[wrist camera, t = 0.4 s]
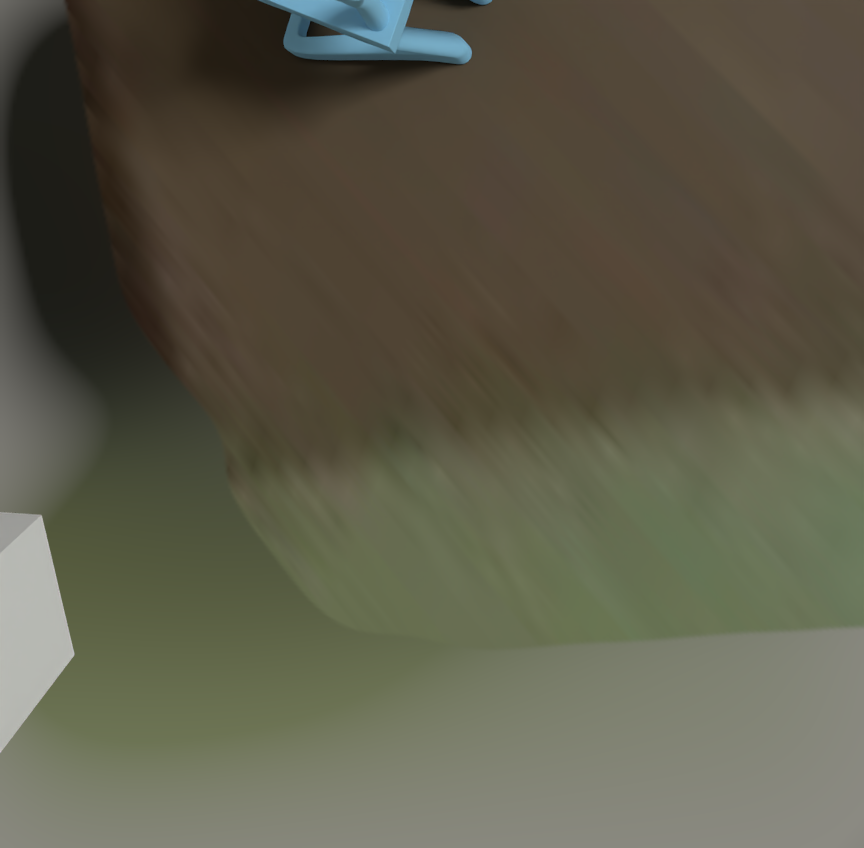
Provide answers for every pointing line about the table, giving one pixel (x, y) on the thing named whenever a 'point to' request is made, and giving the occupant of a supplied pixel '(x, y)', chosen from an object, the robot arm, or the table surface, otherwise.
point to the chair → (367, 32)
